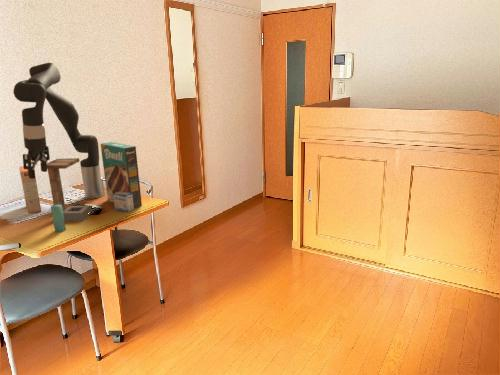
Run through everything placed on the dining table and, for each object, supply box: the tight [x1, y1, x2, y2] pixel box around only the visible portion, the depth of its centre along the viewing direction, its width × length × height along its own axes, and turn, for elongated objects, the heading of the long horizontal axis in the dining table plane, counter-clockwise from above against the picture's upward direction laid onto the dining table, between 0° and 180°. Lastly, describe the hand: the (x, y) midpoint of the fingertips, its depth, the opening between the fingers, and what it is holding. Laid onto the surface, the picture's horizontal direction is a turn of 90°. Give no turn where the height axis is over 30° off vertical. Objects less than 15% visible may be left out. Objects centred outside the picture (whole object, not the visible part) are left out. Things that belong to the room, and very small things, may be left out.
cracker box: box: [19, 166, 42, 214], centre depth 192 cm, size 14×6×21 cm, turn 33°
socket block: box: [63, 205, 93, 223], centre depth 181 cm, size 10×10×4 cm
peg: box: [50, 204, 67, 233], centre depth 165 cm, size 4×4×11 cm
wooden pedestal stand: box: [47, 157, 80, 210], centre depth 178 cm, size 14×10×26 cm
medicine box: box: [113, 192, 135, 213], centre depth 189 cm, size 8×4×9 cm, turn 70°
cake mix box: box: [100, 141, 143, 209], centre depth 197 cm, size 22×6×30 cm, turn 49°
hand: (38, 174), depth 158 cm, fingers open, 8 cm apart
